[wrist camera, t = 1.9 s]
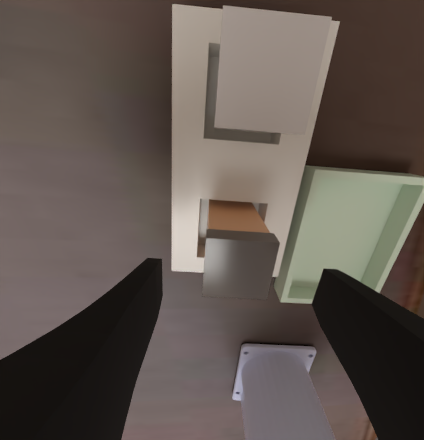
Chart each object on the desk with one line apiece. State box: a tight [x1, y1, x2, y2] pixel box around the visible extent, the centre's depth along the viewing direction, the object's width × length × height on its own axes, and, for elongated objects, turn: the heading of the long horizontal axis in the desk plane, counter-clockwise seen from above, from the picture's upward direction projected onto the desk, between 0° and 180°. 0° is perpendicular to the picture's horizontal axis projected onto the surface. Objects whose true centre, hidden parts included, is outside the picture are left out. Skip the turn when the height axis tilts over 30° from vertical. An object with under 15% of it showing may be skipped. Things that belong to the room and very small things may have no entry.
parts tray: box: [274, 165, 424, 304], centre depth 16 cm, size 11×8×2 cm
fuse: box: [214, 5, 332, 135], centre depth 10 cm, size 3×3×6 cm
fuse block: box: [172, 4, 340, 277], centre depth 14 cm, size 15×8×3 cm, turn 176°
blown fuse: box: [202, 199, 280, 300], centre depth 13 cm, size 3×3×6 cm
